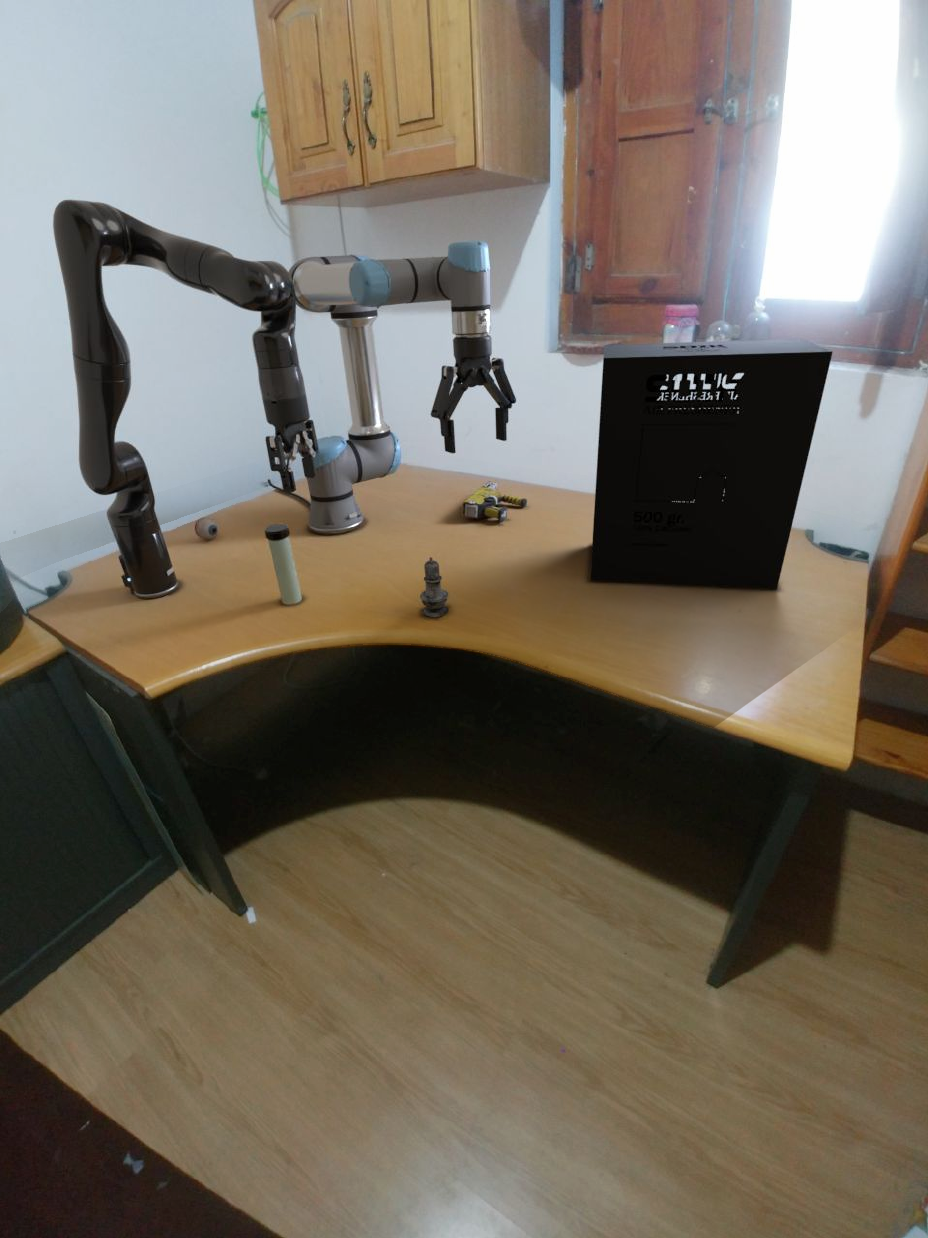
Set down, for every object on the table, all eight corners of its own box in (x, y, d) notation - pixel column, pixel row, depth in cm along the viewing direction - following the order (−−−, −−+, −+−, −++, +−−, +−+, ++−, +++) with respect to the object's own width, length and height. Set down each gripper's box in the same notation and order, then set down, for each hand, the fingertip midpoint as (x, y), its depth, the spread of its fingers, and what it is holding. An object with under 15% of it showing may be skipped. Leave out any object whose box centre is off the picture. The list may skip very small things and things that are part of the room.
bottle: (297, 605, 129) (282, 533, 121) (279, 604, 130) (262, 533, 121) (304, 595, 133) (290, 525, 124) (286, 595, 133) (270, 526, 125)
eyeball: (208, 544, 161) (202, 523, 158) (193, 540, 164) (187, 519, 161) (226, 536, 166) (220, 516, 163) (211, 533, 169) (205, 512, 166)
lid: (284, 540, 121) (282, 532, 120) (262, 540, 122) (260, 532, 121) (292, 531, 125) (291, 523, 124) (271, 531, 126) (269, 523, 125)
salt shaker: (446, 618, 120) (442, 563, 114) (417, 616, 122) (412, 562, 116) (452, 604, 125) (448, 551, 119) (425, 602, 126) (420, 550, 120)
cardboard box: (756, 549, 141) (800, 338, 118) (776, 589, 124) (832, 351, 101) (592, 544, 148) (604, 344, 126) (590, 580, 131) (603, 357, 109)
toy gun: (534, 486, 180) (487, 479, 184) (513, 510, 160) (461, 501, 164) (533, 501, 182) (486, 494, 186) (512, 527, 162) (460, 518, 166)
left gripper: (283, 386, 112) (299, 472, 120) (242, 401, 100) (263, 496, 108) (320, 386, 110) (334, 473, 118) (283, 401, 98) (301, 497, 106)
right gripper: (429, 342, 108) (437, 460, 118) (533, 329, 120) (532, 437, 131) (407, 340, 113) (417, 454, 124) (508, 328, 125) (510, 432, 136)
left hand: (300, 484), depth 113 cm, fingers open, 8 cm apart
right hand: (476, 445), depth 127 cm, fingers open, 13 cm apart
